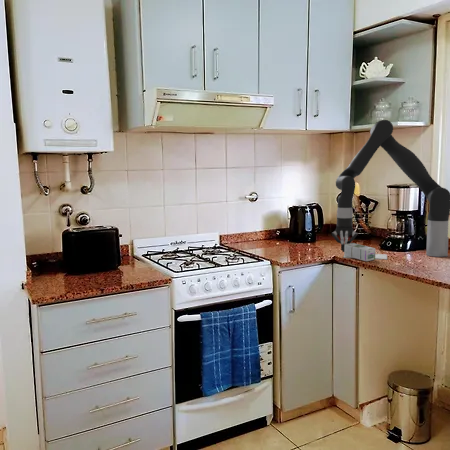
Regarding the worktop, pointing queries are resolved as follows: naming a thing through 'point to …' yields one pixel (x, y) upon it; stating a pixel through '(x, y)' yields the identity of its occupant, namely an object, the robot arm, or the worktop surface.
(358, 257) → the syrup box
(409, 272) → the worktop surface
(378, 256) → the grey mat
